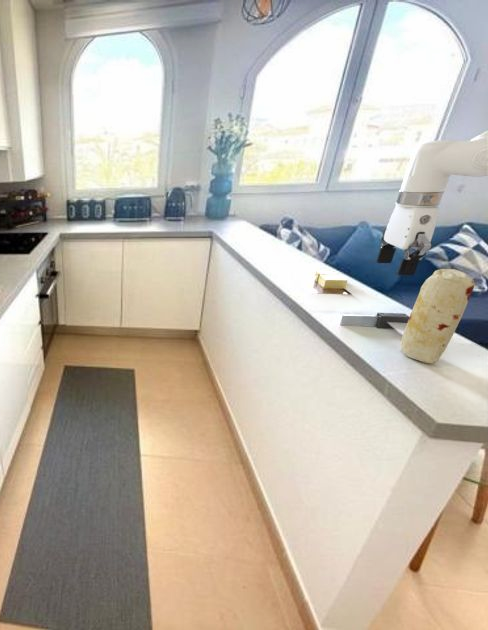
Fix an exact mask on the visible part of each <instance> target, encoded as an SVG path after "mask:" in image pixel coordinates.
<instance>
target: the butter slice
mask: <svg viewBox="0 0 488 630" xmlns="http://www.w3.org/2000/svg"><path fill="white" fill-rule="evenodd" d="M320 275H340V273H339V272H337V271H316V272H315V275H314V277H315V279H314V280H315V281H316V282H318V280H319V276H320Z"/></svg>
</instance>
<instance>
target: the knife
mask: <svg viewBox="0 0 488 630" xmlns="http://www.w3.org/2000/svg"><path fill="white" fill-rule="evenodd" d="M409 317H410V315H408V314H406V313H399V312H397V313H396V312H377V313H376V315H361V314H342V317H341V319H340V322H339V323H340V324H339V325H340V326H350V325H351V326H350V327H373V328H374V327H375V328H377V329H384V330H386V329H387V330H396V329H395V327H393V326H392V325H391V324H389V323H397V324H399V323H400V324H407V323H408V320H409Z"/></svg>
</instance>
